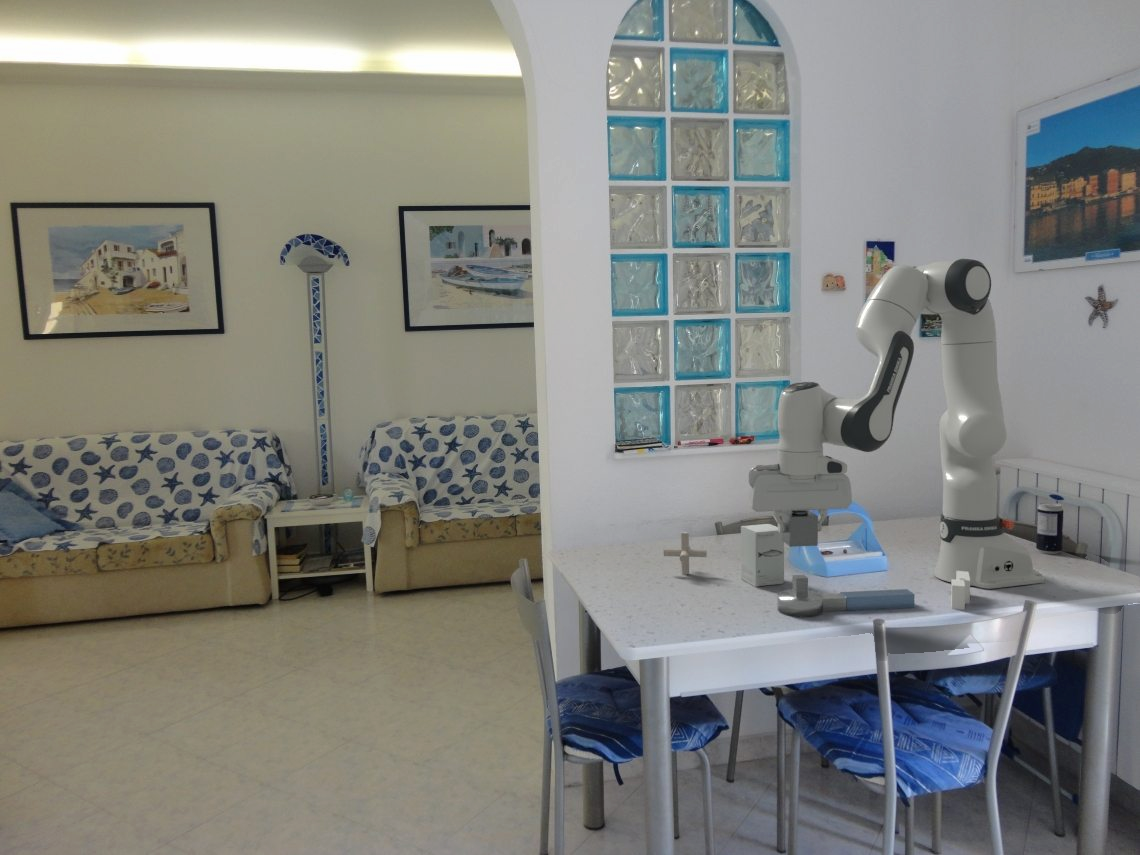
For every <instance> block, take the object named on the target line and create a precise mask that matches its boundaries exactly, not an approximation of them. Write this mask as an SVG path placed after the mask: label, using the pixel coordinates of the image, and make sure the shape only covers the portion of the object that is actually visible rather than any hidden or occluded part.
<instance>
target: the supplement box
mask: <svg viewBox="0 0 1140 855" xmlns="http://www.w3.org/2000/svg"><path fill="white" fill-rule="evenodd" d="M740 579H741V580H743V581H744V582H745V583H748V584H749V585H751V586H753V587H755V588H758V587H762V586H771V585H772V586H773V585H783V584H785V542H784V541H782V533H779V532H778V526H776V525H774V524H770V523H764V524H751V525H749V524H748V525H741V526H740Z"/></svg>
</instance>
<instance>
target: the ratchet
mask: <svg viewBox="0 0 1140 855" xmlns="http://www.w3.org/2000/svg"><path fill="white" fill-rule="evenodd" d="M915 597H916V596H915V593H913V592H912V591H911V590H909V589H907V588H902V589H883V590H880V589H879V590H878V589H877V590H859V591H841V592H839V593H824V594H823V593H820V592H818V591H814V590H810V589H809V578H808V576H806V575H805V574H795V575H794V574H792V588H791V589H785V590H781V591H779V592H778V593H777V611H778V612H779V614H780V613H781V614H782V615H785V616H789V617H795V618H815V617H819V616H820V615H822V614H823V613H824V612H823V611H825V612H842V611H845V610H846V612H849V611H851V612H852V611H871V610H875V611H876V610H891V609H912V608H915Z"/></svg>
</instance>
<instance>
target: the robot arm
mask: <svg viewBox="0 0 1140 855" xmlns="http://www.w3.org/2000/svg"><path fill="white" fill-rule="evenodd" d="M991 290H992V277H991V274H990V272H989V270H988V269H987V267H986V266H985V265H984V263H983V262H982V261H979V260H976V259H971V258H970V259H969V258H959V259H955V260H954V259H950V260H938V261H934V262H931V263H926V264H924V265H919V266H918V265H917V266H911V265H906V264H900V265H895V266H892V267H890V268H889V269H888V270H887V271H886V272H885V273H884V274H883V276H882V277H881V278H880V279H879V280H878V281H877V283H876V284H875V286H874V287H873V289H872V290H871V292H870V294H869V295H868V296H867V298H866V300H865V302H864V303H863V306H862V308H861V310H860V311H859V313H858V316H857V318H856V321H855V325H854V331H855V334H856V338H857V339H858V342H859V343H860V344H861V345H862V346H863V347H864V349H866V350H867V351H868V352H870V353H871V354H872V355H874V356H876V357H878V364H877V367H876V370H875V373H874V376H873V378H872V382H871V384H870V387H869V389H868V392H867V393H866V394H865V395H864V396H861V397H860V398H858V399H854V398H846V397H845V398H844V397H838V396H837V395H834V394H831V393H829V392H827V391H826V390H824V389H823V388H822V387H821V385H820V383H818V382H814V381H803V382H796V383H792V384H791V383H790V384H788V385H786V386H785V387H784V388H783V389H782V390H781V392H780V396H779V399H778V408H777V430H778V434H779V440H778V445H777V464H768V465H765V464H764V465H763V464H758V465H756V466H755V467H752V468H751V469H750V470H749V471H748V472H749V473H748V484H749V487H750V488H749V493H748V494H749V495H748V505H749V507H750V508H751V509H752V510H753V511H754V512H757V513H758V512H759V513H760V512H771V513H772V516H773V518H774V520H775V521H776V524H777V527H778V532H779V533H785V532H787V524H786V523H785V522H782V518H781V517H782V511H795V510H809V511H816V513H817V514H818V515H817V516H818V532H822V530H823V529H822V528H823V525H822V524H823V522H824V521H825V520H826V518H827V517H828V510H844V509H845V510H846V509H849V508H850V506H851V505H852V502H853V501H852V500H853V497H852V496H853V495H852V486H851V481H850V478H849V477H848V476H847V475H846V473H847V472H848V465H847V463H846V462H844V461H842V460H839V459H838V458H833V457H831V456H828V455H824V447H823V444H828V445H829V444H830V445H832V446H840V447H846V448H851V449H854V450H858V451H861V452H865V453H871V452H874V451H877V450H878V449H880V448H882V446H884V445H885V443H886V442H887V441H888V440H889V438H890V436H891V433H892V431H893V426H894V420H895V419H894V418H895V413H896V409H897V406H898V403H899V400H900V398H901V394H902V391H903V388H904V386H905V382H906V380H907V377H908V373H909V370H910V368H911V366H912V365H911V364H912V361H913V357H914V352H915V345H914V341H913V339H912V337H911V336H912V332H913V331H914V328H915V326H916V323H917V321H918V319H919V318H920V315H939V317H940V319H941V333H940V334H941V337H940V338H941V339H940V340H941V342H940V343H941V346H940V348H941V369H942V371H941V374H942V375H941V376H942V378H941V379H942V383H943V388H944V393H945V394H944V395H945V400H946V408H947V409H946V411H944V412H943V414H942V415H941V417H940V419H939V424H938V425H939V426H938V427H939V446H940V448H939V449H940V460H941V470H942V513H941V514H940V519H939V521H940V522H939V531H940V532H939V535H940V540H941V541H940V546H939V547H940V548H939V553H938V559H937V563H936V566H935V569H934V572H933V575H934V577H936V578H937V579H939V580H942V581H945V582H948V583H951V581H952V579H956V571H966V572H969V577H970V587H971V586H973V587H977V588H981V589H988V590H989V589H991V590H992V589H1000V588H1009V587H1015V586H1016V587H1017V586H1018V587H1019V586H1026V585H1035V584H1041V583H1044V582H1045V578H1044V575H1043V574H1042V573H1041V572H1039V571H1037V570H1036V569H1033V568H1034V567H1033V560H1032V557H1031V554H1030V552H1029V551H1028V550H1027V549H1026V548H1025V547H1023V546H1022V545H1021V544H1019V543H1018V542H1017V541H1016V540H1014V539H1013V538H1012V537H1010V536H1009V535H1007V533H1005V530H1004V528H1005V529H1007V530H1013V528H1014V527H1015V522H1014V521H1013V520H1011V519H1009V518H1004V519H1003V518H1001V517H999V516H997V515H998V514H997V513H998V512H997V511H998V478H997V476H996V475H997V474H996V469H995V467H996V466H995V461H994V455H996V454H997V453H998V452H1000V451H1001V450H1002V449H1003V448H1004V445H1005V444H1006V440H1007V430H1006V426H1005V425H1006V424H1005V419H1004V418H1005V417H1004V409H1003V402H1002V396H1001V391H1000V386H999V379H998V378H999V377H998V356H997V355H998V354H997V352H998V350H997V331H996V330H997V329H996V321H995V314H994V311H993V307H992V303H991V300H990V299H989V297H990V294H991Z"/></svg>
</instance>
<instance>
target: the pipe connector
mask: <svg viewBox="0 0 1140 855" xmlns="http://www.w3.org/2000/svg"><path fill="white" fill-rule="evenodd" d="M689 533H690V532H689V531H681V532H680V548H663V556H664V557H679V561H680V563H681V566H680V567H681V575H682V574H683V575H684V576H688V575H690V558H691V557H692V558H707V556H708V555H707V554H708V553H707V549H701V548H699V549H698V548H696V549H695V548H694V549H693V548H692V549H691V546H690V544H689V542H690V537H689V536H690V535H689ZM687 574H688V575H687ZM683 575H682V576H683Z"/></svg>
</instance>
